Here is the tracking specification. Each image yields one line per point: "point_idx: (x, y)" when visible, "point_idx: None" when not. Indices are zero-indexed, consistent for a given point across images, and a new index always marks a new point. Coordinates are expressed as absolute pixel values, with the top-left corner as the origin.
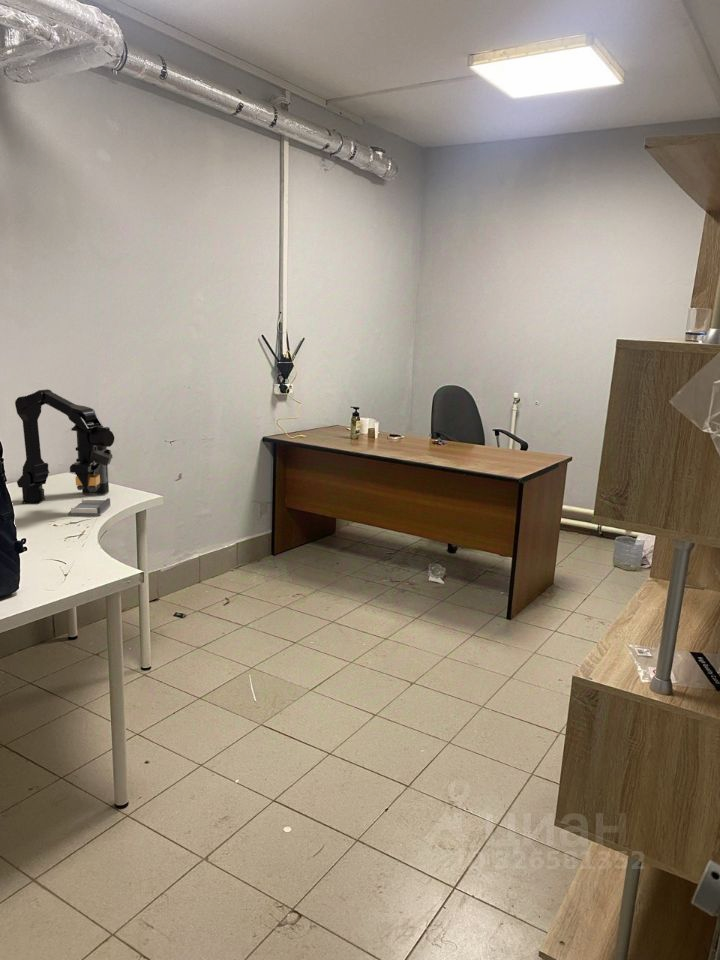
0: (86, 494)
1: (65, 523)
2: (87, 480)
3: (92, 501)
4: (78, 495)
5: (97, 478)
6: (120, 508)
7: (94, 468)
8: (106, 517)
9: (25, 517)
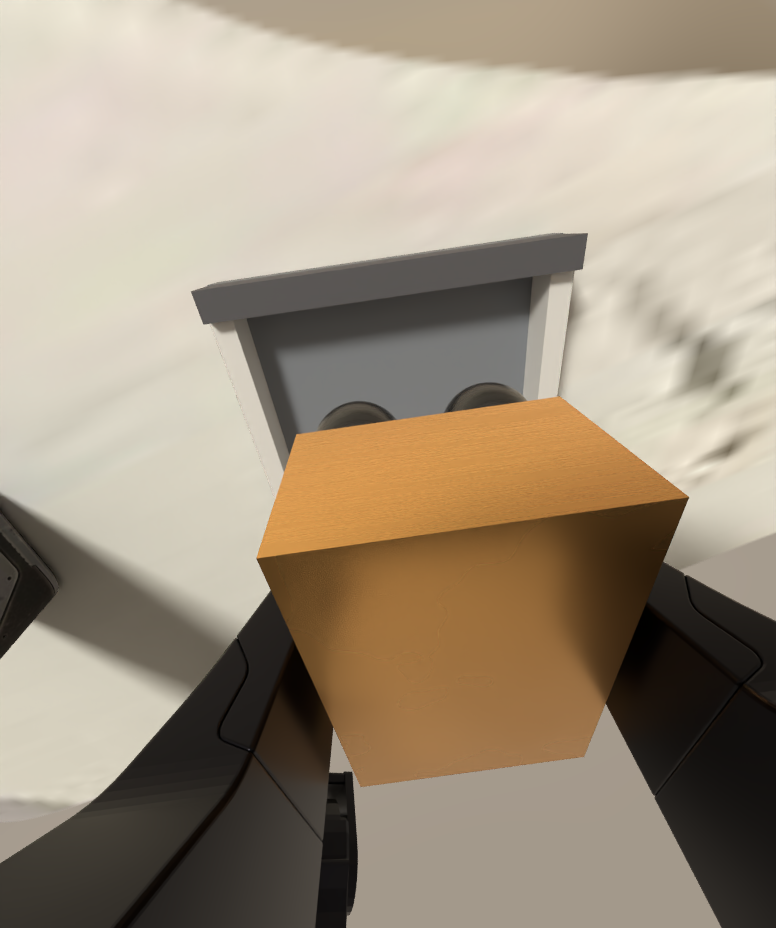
0: (50, 572)
1: (704, 412)
2: (678, 575)
3: (277, 441)
4: (89, 598)
5: (491, 479)
6: (255, 118)
7: (209, 880)
8: (601, 139)
9: None
